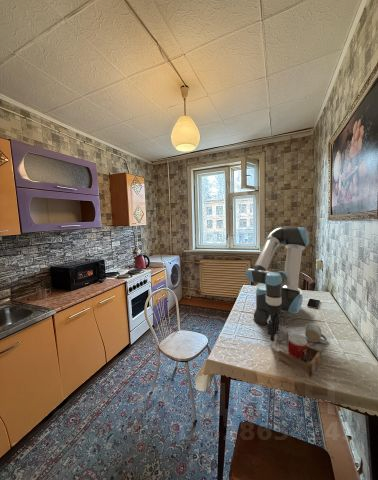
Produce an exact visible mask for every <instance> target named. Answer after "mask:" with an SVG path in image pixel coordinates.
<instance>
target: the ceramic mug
mask: <svg viewBox="0 0 378 480" xmlns="http://www.w3.org/2000/svg"><path fill="white" fill-rule="evenodd" d="M304 333H305V337H306V338H305V339H306V340H308V341H309V342H311V343H318V342H320V343H322V344H325V345H326V344H327V343H328V338H327V337H326V336H325V335H324V334H323V333H322V329H321V327H320V326H319V325H318V324H316V323H314V322H309V323H307V324H306V325H305V332H304ZM321 337H322V339H321ZM323 339H324V340H323Z"/></svg>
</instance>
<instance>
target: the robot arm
mask: <svg viewBox="0 0 378 480" xmlns="http://www.w3.org/2000/svg"><path fill="white" fill-rule="evenodd" d="M264 242H265V243H264V245H263V248H262V249H261V251H260V254H259V256H258V257H257V260H256V262H255V264H254V265H253V267H252V268H247V270H246V272H245V278H246V280H247V281H249V282H252V283H258V284H260V283H263V284H266V285H263V286H259V287H258V288H257V289H256V290H255V299H256V300H255V304H256V306H255V311H254V313H253V321H254V322H255V323H256V324H257V325H261V326H263V327H266V329H267V335H269V339H270V340H269V343H270V344H269V345H270V346H272V347H274V348H276V347H277V343H278V341H277V335H279V334H280V333H279V331H280V322H281V321H280V320H281V314H282V312H281V310H283V311H285V312H287V313H293V314H298V313H299V312H300V310H301V307H302V305H303V297H304V296H303V294H302V295H301V294H300V290H299V289H300V288H299V280H300V272H301V265H302V264H301V262H302V255H303V254H302V253H303V251H304V250H305V249H306V247H307V246H309V244H310V237H309V232H308V229H307V227H303V226H302V227H301V226H300V227H299V226H296V227H295V226H290V227H289V226H288V227H286V226H281V227H277V228H275V229H273V230H272V231H270V233H268V235H267V236H266V238H265V239H264ZM281 245H284V247H285V248H286V257H285V263H284V264H285V265H284V271H283V270H279V271H271V270H268V268H269V266H270V263H271V261H272V259H273V256H274V255H275V252H276V250H277V248H279V247H280V246H281ZM298 288H299V289H298Z"/></svg>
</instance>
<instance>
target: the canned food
mask: <svg viewBox="0 0 378 480" xmlns="http://www.w3.org/2000/svg"><path fill="white" fill-rule="evenodd" d="M307 340H308V339H307V338H305V337H303V336H301V335H298V334H290V335H288V341H287V342H288V348H287V354H289V355H291V356H293V357H295V358H297V359H300V360H302V361H304V362H306V363H308V362H307V360H308V356H307V346H308V341H307Z"/></svg>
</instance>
